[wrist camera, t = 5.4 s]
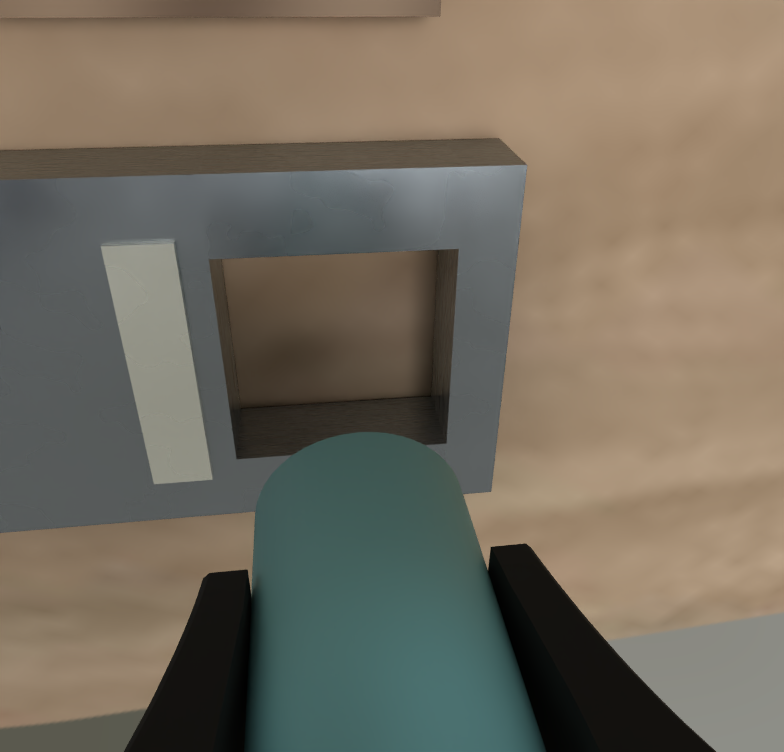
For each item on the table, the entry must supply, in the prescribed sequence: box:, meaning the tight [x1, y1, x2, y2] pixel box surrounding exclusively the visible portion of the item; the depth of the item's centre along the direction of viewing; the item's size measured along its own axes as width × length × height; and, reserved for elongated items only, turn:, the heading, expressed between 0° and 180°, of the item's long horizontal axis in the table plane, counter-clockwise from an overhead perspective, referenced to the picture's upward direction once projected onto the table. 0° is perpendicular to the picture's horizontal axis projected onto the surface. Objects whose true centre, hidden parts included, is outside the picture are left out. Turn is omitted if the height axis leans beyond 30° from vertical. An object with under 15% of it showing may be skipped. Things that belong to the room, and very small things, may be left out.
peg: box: [244, 432, 546, 752], centre depth 10 cm, size 4×4×8 cm
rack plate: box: [0, 139, 527, 533], centre depth 19 cm, size 17×10×3 cm, turn 90°
